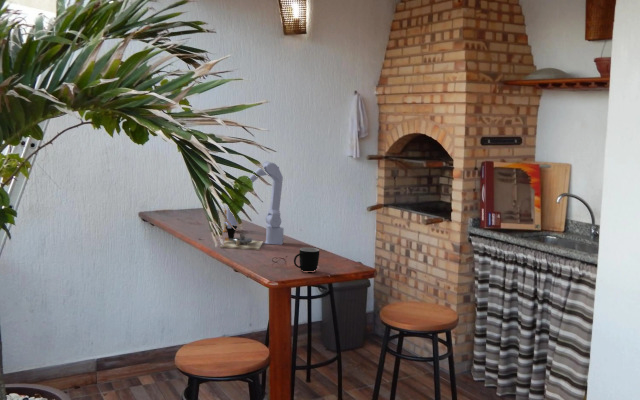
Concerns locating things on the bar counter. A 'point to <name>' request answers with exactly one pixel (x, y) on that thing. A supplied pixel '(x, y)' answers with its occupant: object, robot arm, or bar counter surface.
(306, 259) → the mug
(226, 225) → the supplement box
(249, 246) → the base
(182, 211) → the bar counter surface
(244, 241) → the flange
